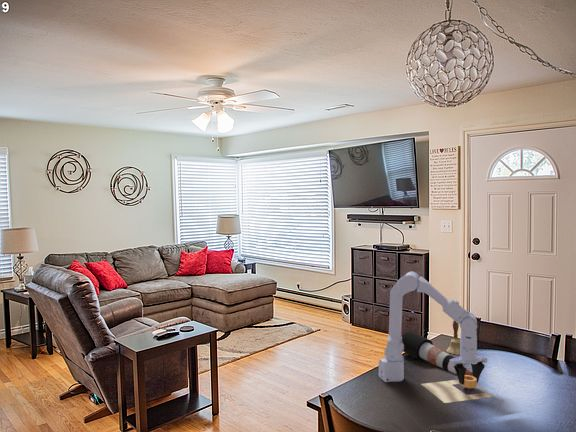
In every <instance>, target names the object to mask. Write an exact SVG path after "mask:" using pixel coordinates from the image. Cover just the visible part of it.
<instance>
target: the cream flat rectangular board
mask: <svg viewBox="0 0 576 432" xmlns="http://www.w3.org/2000/svg"><path fill="white" fill-rule="evenodd" d="M420 385H421V386H423V388H425V389H426V390H427V391H429V392H430V393H431V394H433V395H434V396H435V397H436V398H437V399H438V400H440V401H441V402H442V403H443V404H449V403H457V402H463V401H465V402H466V401H471V400H479V399H486V398H495V396H494V395H493V394H492V393H490V392H488V391H487V390H486V389H484V388H482V387H480V385H478V384H477V386H476V388H478V389H479V390H481V391H483V392H481V393H480V392H479V393H471V394H465V393H464V392H463V391H462V390H460V389H458V388H457V387H456V386H455V385H461V384H460V383H459V379H451V380H444V381H436V382H435V381H434V382H427V383H421V384H420ZM465 389H466V390H471V389H472V388H467V387H465Z"/></svg>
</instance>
